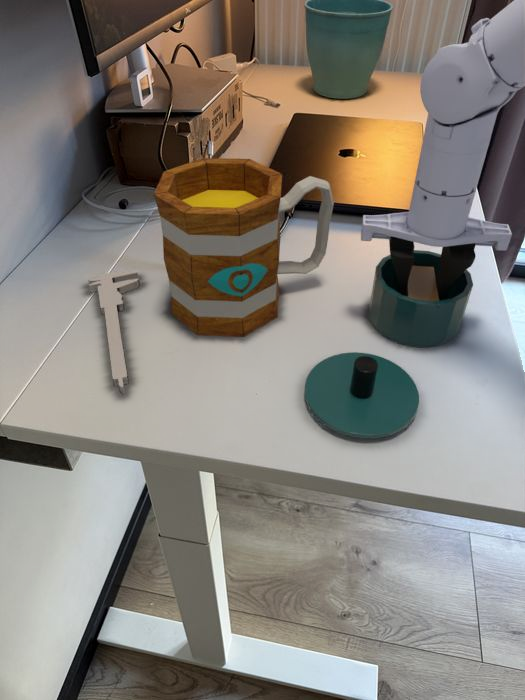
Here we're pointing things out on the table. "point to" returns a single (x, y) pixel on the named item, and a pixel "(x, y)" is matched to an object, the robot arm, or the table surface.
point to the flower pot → (344, 44)
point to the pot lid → (361, 395)
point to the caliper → (115, 316)
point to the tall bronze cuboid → (422, 284)
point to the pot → (417, 306)
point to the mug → (230, 242)
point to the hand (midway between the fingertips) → (418, 297)
